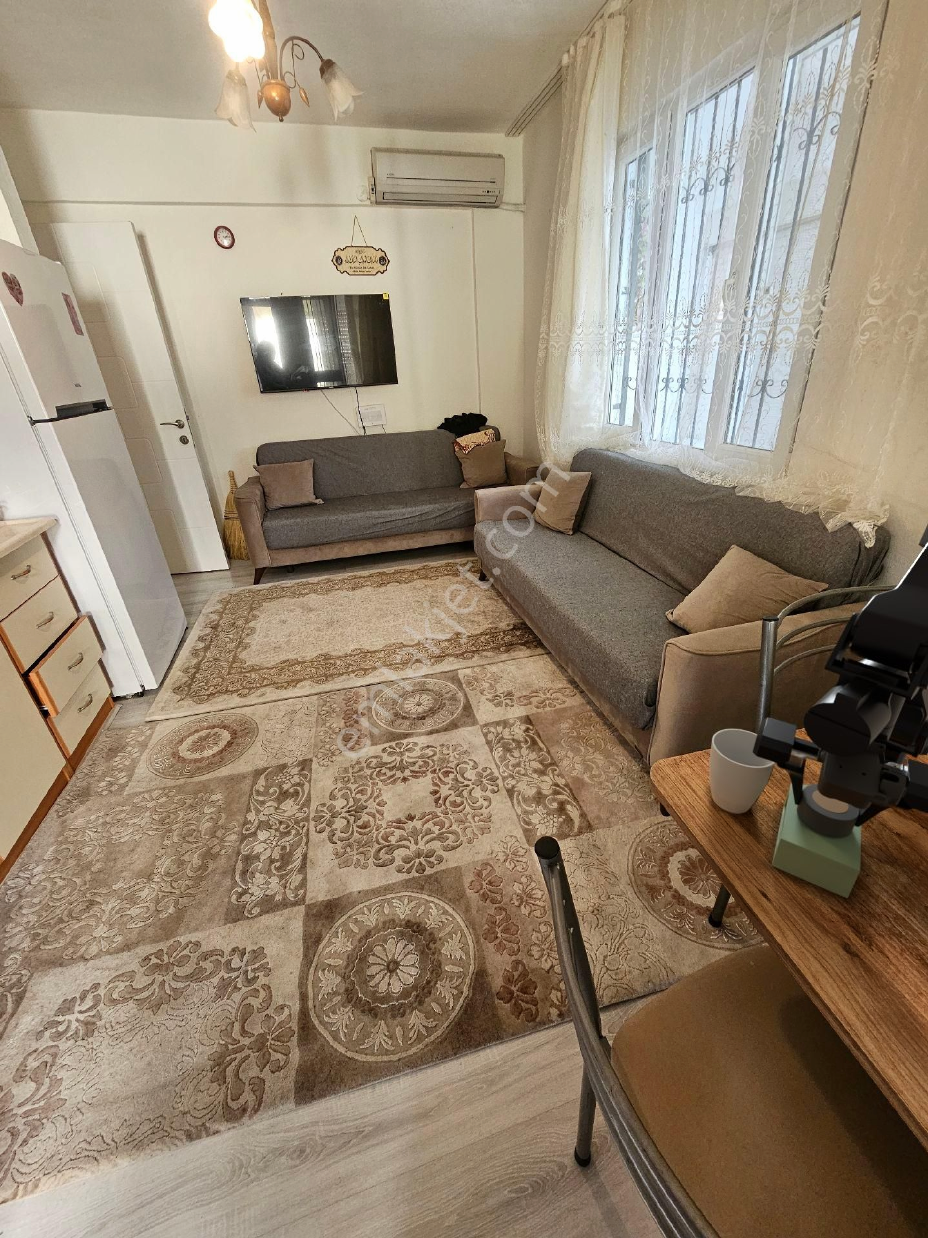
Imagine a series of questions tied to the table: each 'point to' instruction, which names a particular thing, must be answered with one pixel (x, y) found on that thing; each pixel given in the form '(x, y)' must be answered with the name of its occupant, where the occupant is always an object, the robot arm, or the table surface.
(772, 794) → the table surface
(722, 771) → the cup
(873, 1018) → the table surface
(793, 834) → the sage green box
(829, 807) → the tape
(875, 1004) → the table surface
